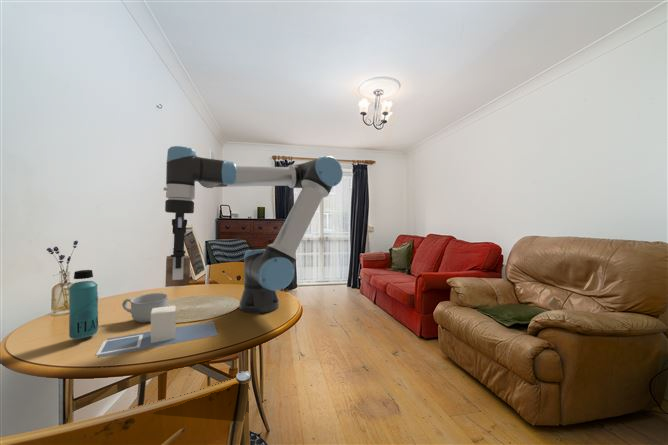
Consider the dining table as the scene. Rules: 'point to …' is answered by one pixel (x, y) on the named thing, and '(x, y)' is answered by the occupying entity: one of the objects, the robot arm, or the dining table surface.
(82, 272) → the beverage bottle
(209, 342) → the dining table surface
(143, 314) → the teacup
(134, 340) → the plan sheet
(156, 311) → the cream block
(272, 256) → the robot arm
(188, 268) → the walnut block
